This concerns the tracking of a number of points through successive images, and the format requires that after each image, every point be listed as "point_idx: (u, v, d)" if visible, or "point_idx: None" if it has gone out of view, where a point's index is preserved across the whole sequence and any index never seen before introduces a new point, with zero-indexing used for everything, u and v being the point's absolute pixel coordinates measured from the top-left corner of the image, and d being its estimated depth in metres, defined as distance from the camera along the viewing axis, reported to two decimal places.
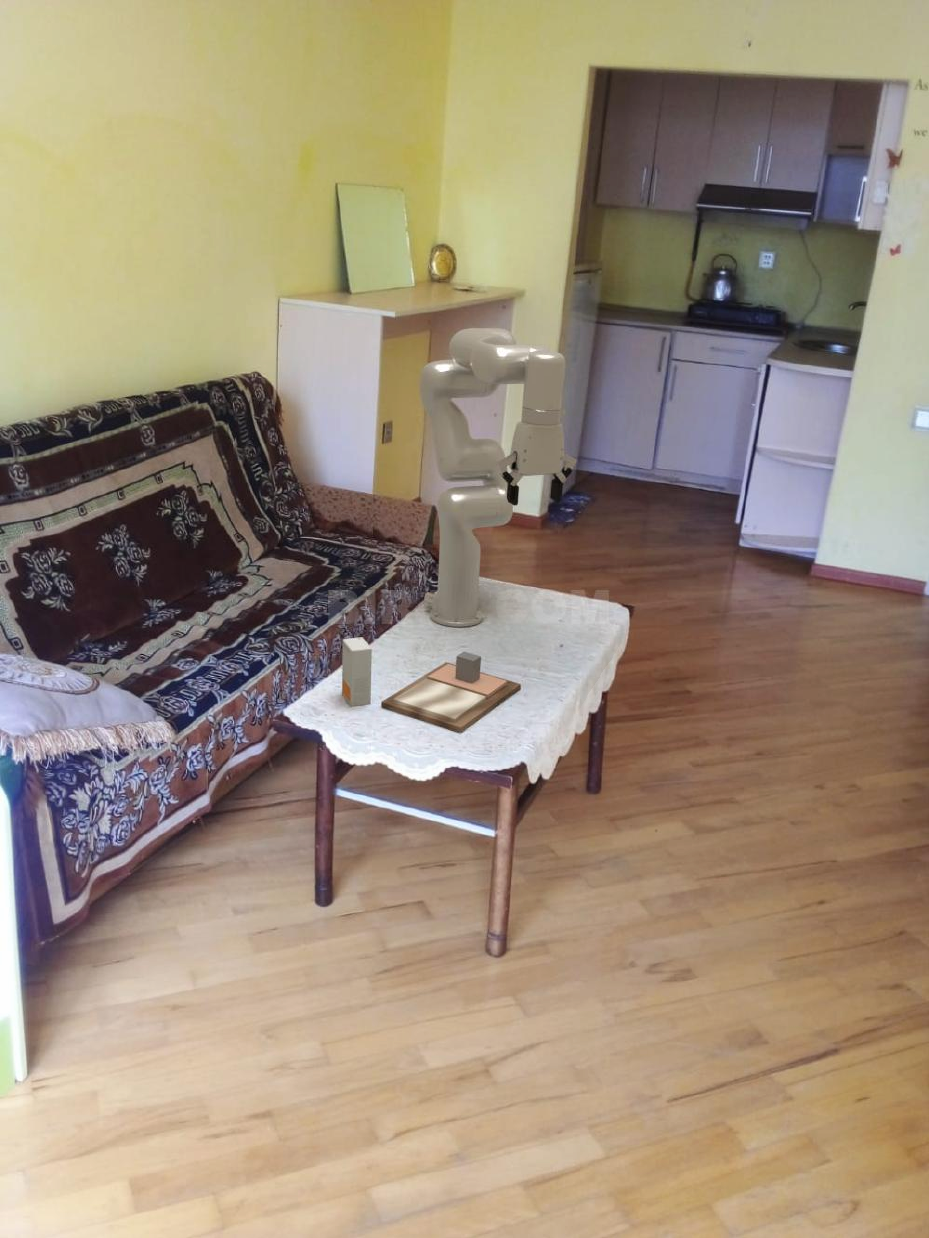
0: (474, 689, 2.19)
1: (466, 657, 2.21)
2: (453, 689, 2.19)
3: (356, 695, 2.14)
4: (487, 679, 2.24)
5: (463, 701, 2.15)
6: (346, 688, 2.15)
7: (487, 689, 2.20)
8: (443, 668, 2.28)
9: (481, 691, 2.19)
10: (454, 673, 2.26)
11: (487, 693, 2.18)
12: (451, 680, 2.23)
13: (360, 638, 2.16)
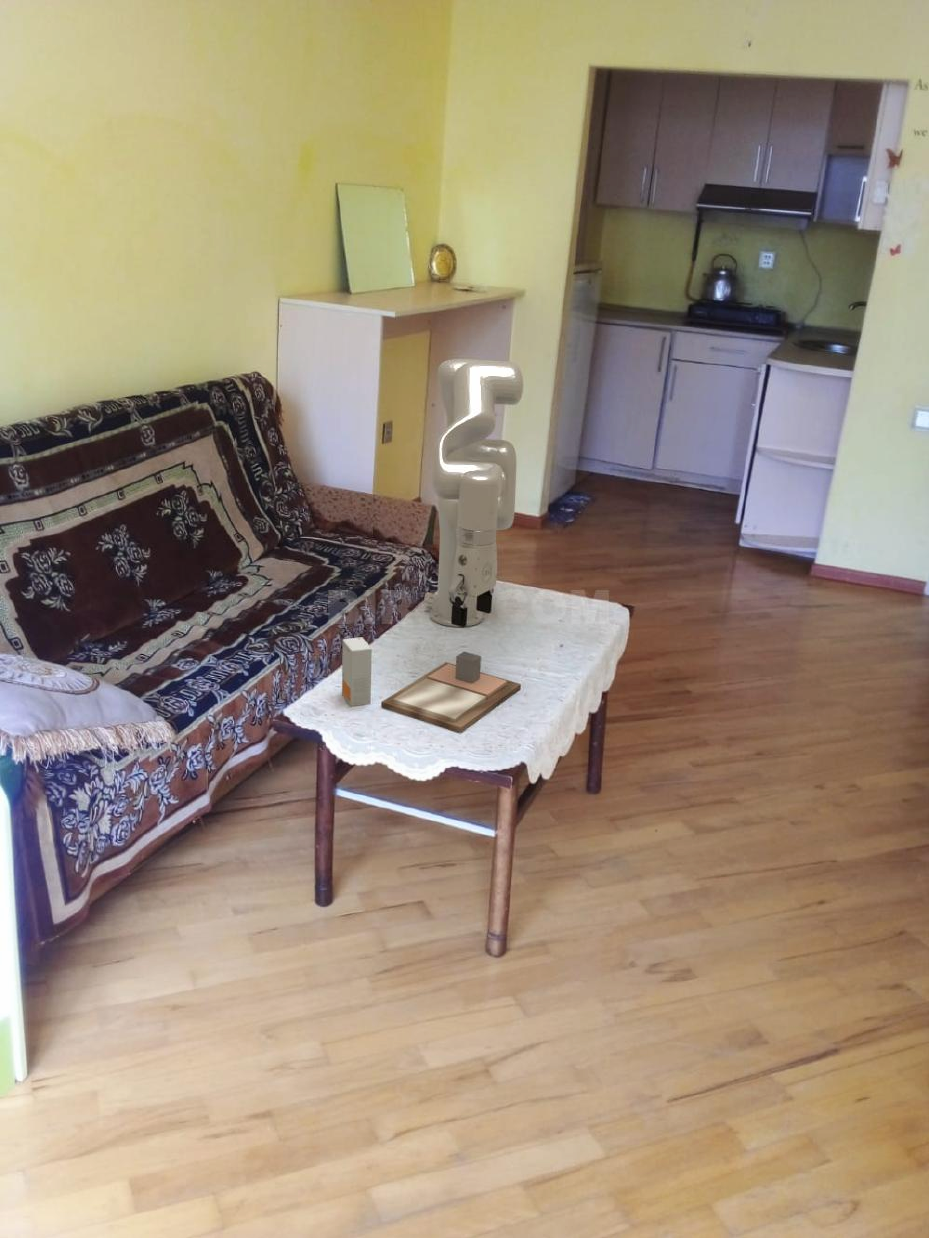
0: (474, 689, 2.19)
1: (466, 657, 2.21)
2: (453, 689, 2.19)
3: (356, 695, 2.14)
4: (487, 679, 2.24)
5: (463, 701, 2.15)
6: (346, 688, 2.15)
7: (487, 689, 2.20)
8: (443, 668, 2.28)
9: (481, 691, 2.19)
10: (454, 673, 2.26)
11: (487, 693, 2.18)
12: (451, 680, 2.23)
13: (360, 638, 2.16)
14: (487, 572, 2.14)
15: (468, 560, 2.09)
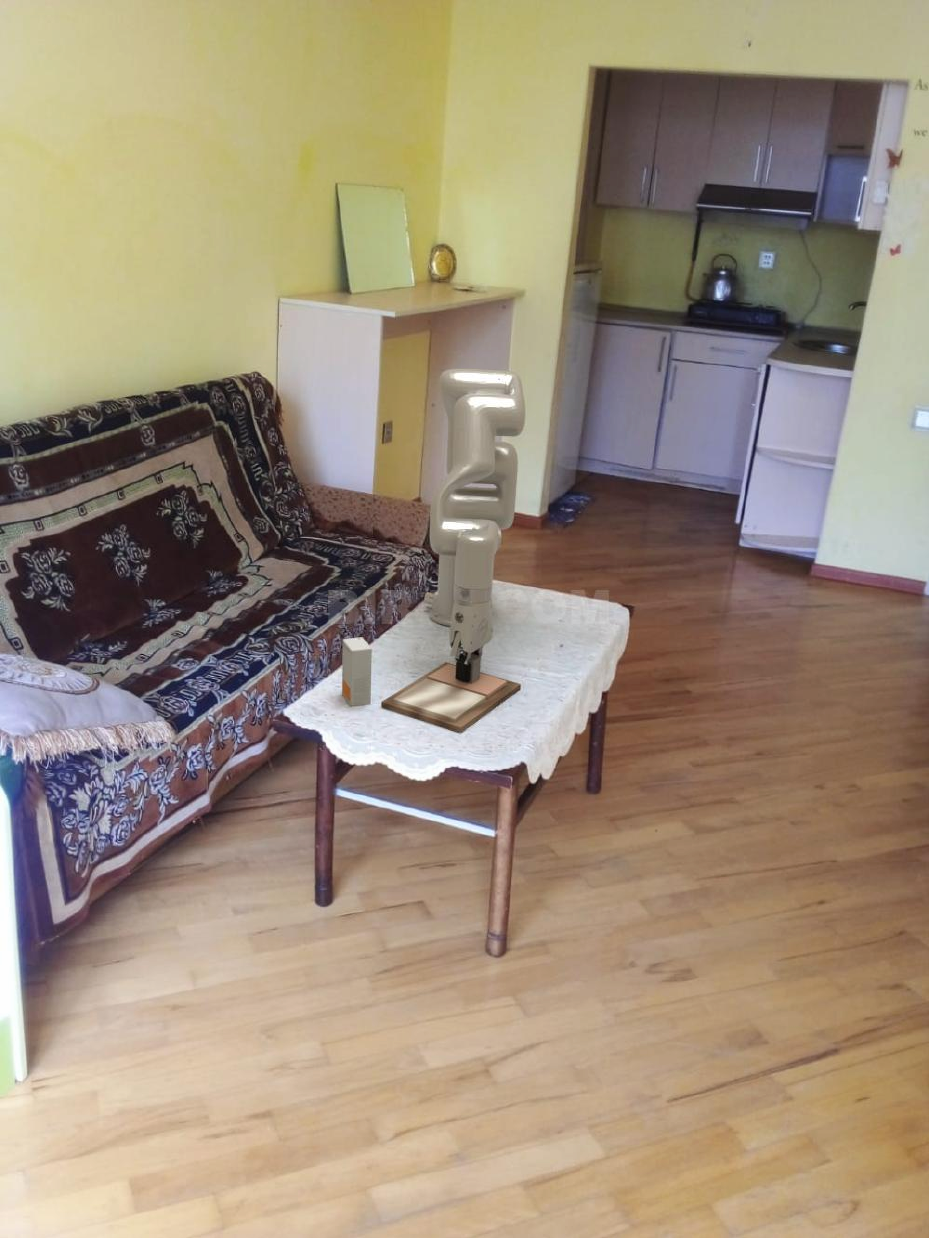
0: (474, 689, 2.19)
1: None
2: (453, 689, 2.19)
3: (356, 695, 2.14)
4: (487, 679, 2.24)
5: (463, 701, 2.15)
6: (346, 688, 2.15)
7: (487, 689, 2.20)
8: (443, 668, 2.28)
9: (481, 691, 2.19)
10: (454, 673, 2.26)
11: (487, 693, 2.18)
12: (451, 680, 2.23)
13: (360, 638, 2.16)
14: (483, 628, 2.19)
15: (464, 618, 2.14)
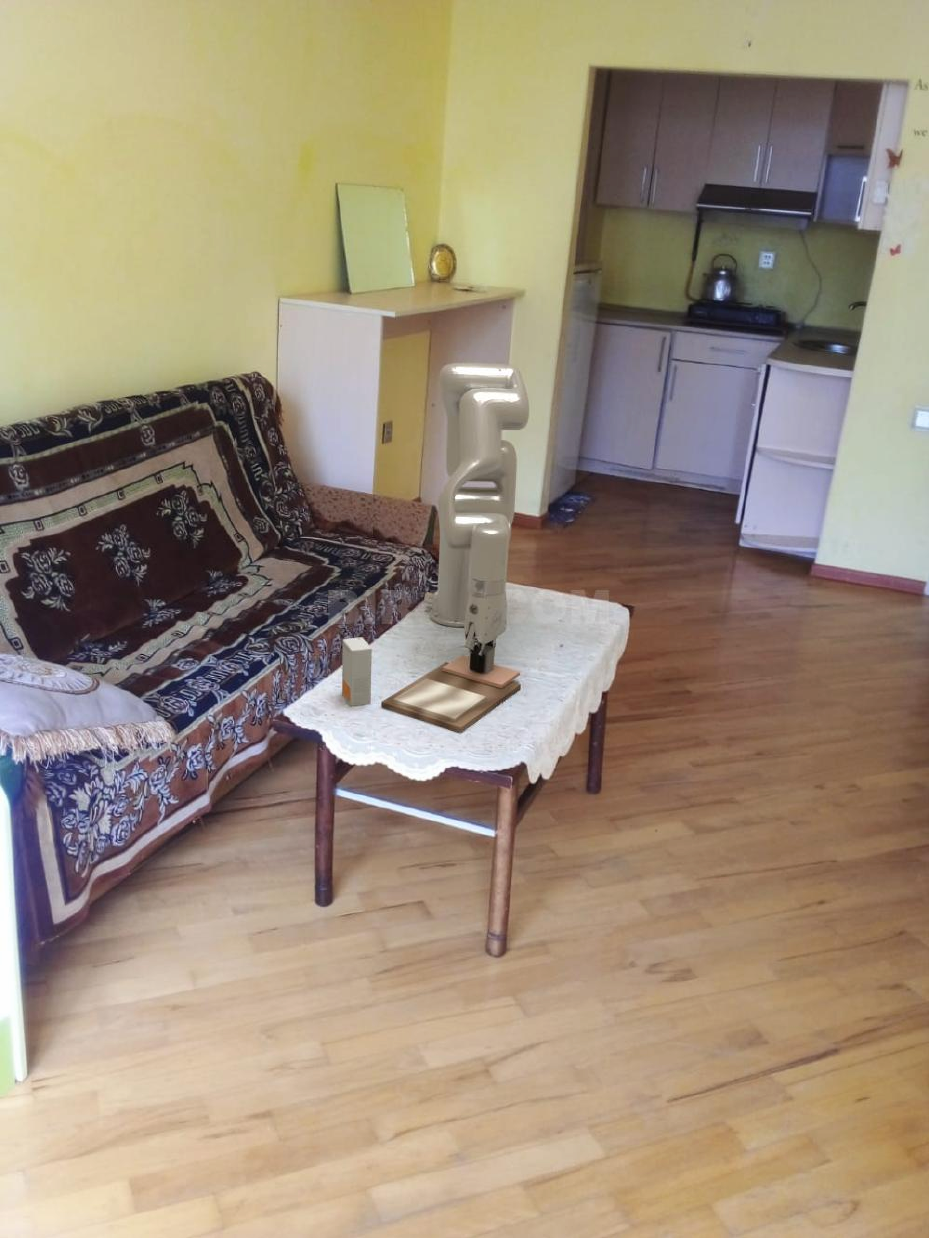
0: (488, 679, 2.24)
1: None
2: (453, 689, 2.19)
3: (356, 695, 2.14)
4: (500, 670, 2.29)
5: (463, 701, 2.15)
6: (346, 688, 2.15)
7: (501, 679, 2.25)
8: (457, 659, 2.33)
9: (495, 681, 2.23)
10: (468, 664, 2.31)
11: (501, 683, 2.23)
12: (465, 671, 2.27)
13: (360, 638, 2.16)
14: (497, 619, 2.23)
15: (479, 609, 2.19)
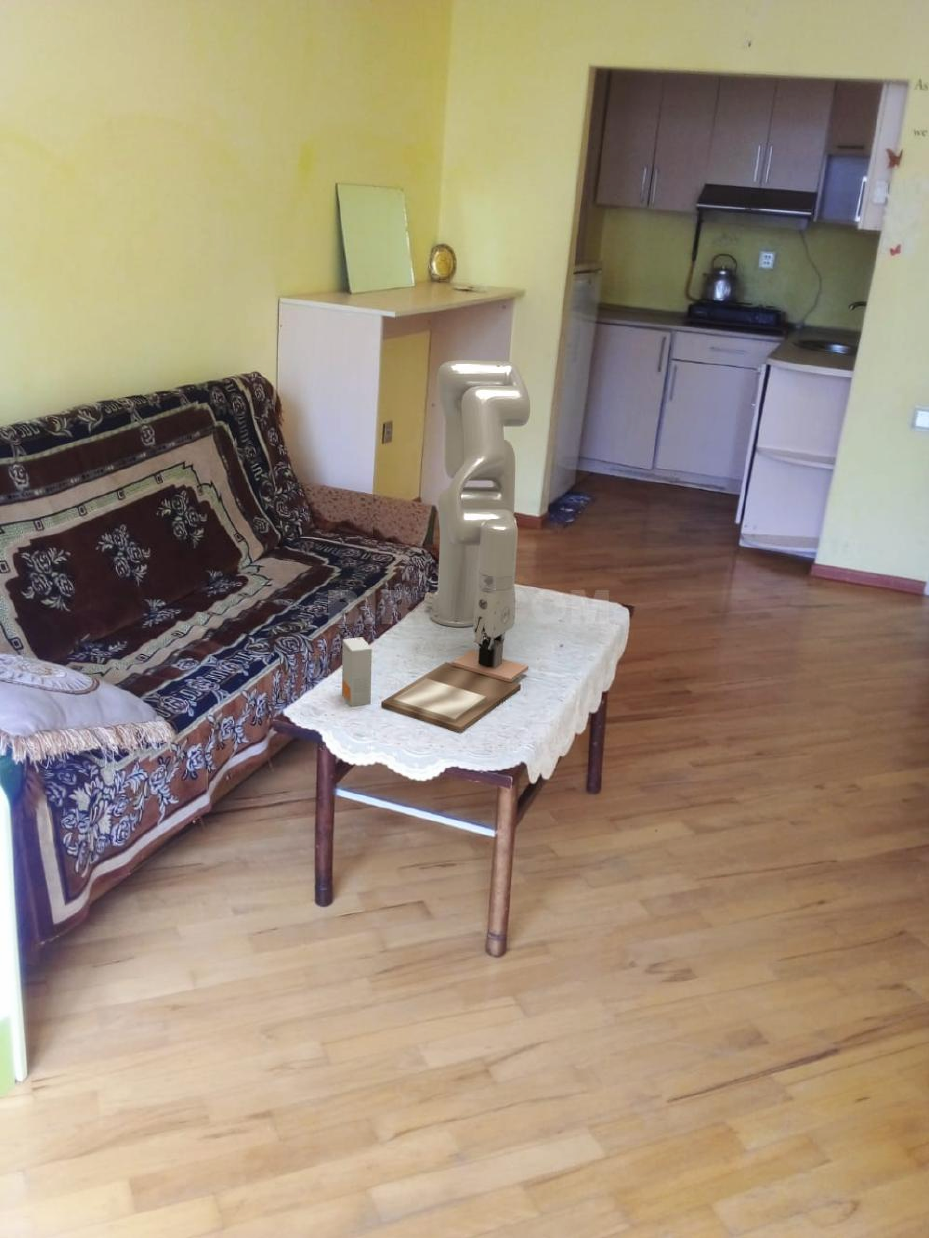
0: (497, 673, 2.27)
1: None
2: (453, 689, 2.19)
3: (356, 695, 2.14)
4: (509, 664, 2.32)
5: (463, 701, 2.15)
6: (346, 688, 2.15)
7: (510, 673, 2.27)
8: (466, 654, 2.36)
9: (504, 675, 2.26)
10: (477, 658, 2.34)
11: (509, 677, 2.26)
12: (474, 665, 2.30)
13: (360, 638, 2.16)
14: (506, 614, 2.26)
15: (488, 604, 2.22)
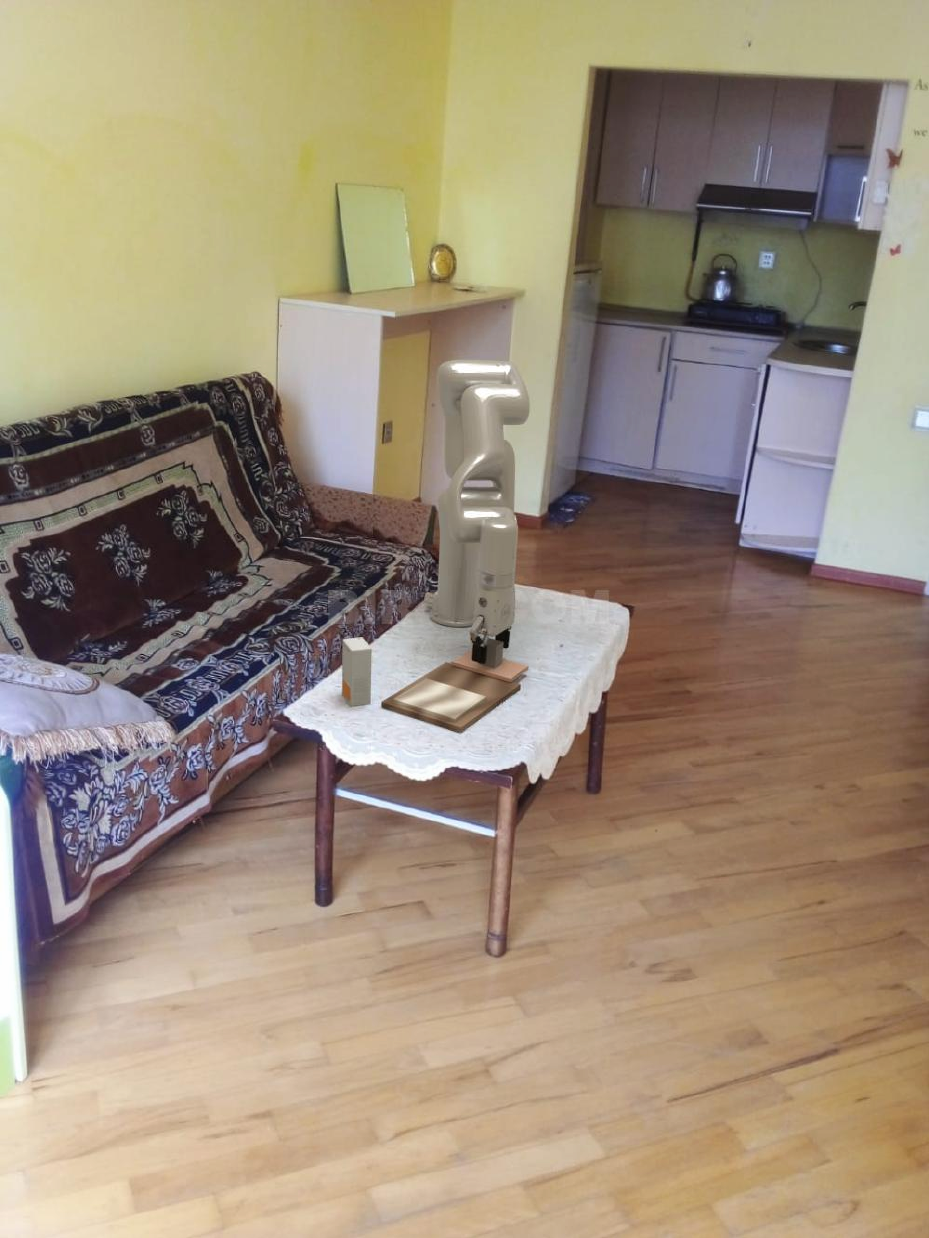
0: (497, 673, 2.27)
1: (489, 643, 2.29)
2: (453, 689, 2.19)
3: (356, 695, 2.14)
4: (509, 664, 2.32)
5: (463, 701, 2.15)
6: (346, 688, 2.15)
7: (510, 673, 2.28)
8: (466, 654, 2.36)
9: (504, 675, 2.26)
10: None
11: (510, 677, 2.26)
12: (474, 665, 2.30)
13: (360, 638, 2.16)
14: (506, 612, 2.26)
15: (488, 602, 2.22)
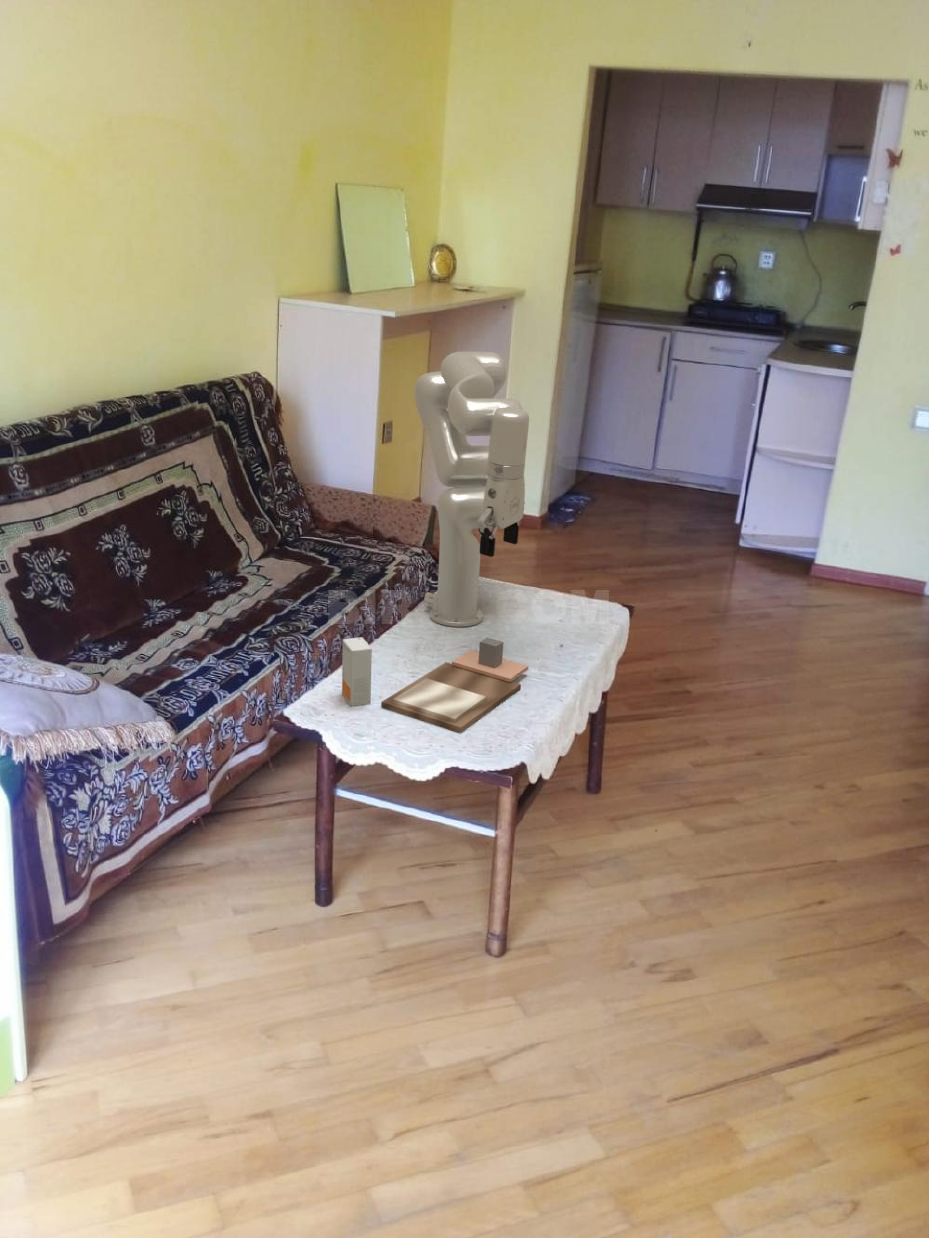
0: (497, 673, 2.27)
1: (489, 643, 2.29)
2: (453, 689, 2.19)
3: (356, 695, 2.14)
4: (509, 664, 2.32)
5: (463, 701, 2.15)
6: (346, 688, 2.15)
7: (510, 673, 2.28)
8: (466, 654, 2.36)
9: (504, 675, 2.26)
10: (477, 658, 2.34)
11: (510, 677, 2.26)
12: (474, 665, 2.30)
13: (360, 638, 2.16)
14: (515, 505, 2.25)
15: (497, 493, 2.20)
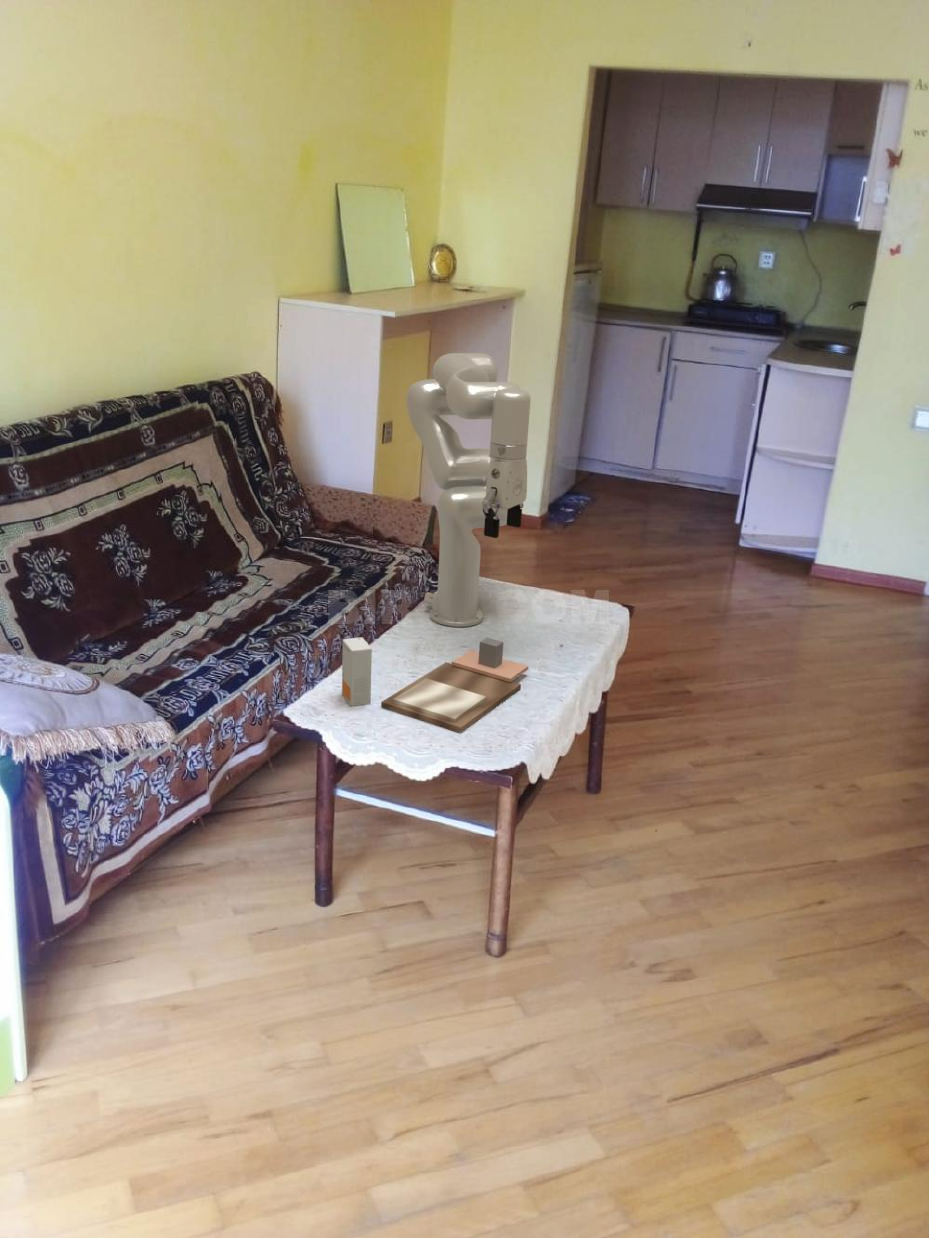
0: (497, 673, 2.27)
1: (489, 643, 2.29)
2: (453, 689, 2.19)
3: (356, 695, 2.14)
4: (509, 664, 2.32)
5: (463, 701, 2.15)
6: (346, 688, 2.15)
7: (510, 673, 2.28)
8: (466, 654, 2.36)
9: (504, 675, 2.26)
10: (477, 658, 2.34)
11: (510, 677, 2.26)
12: (474, 665, 2.30)
13: (360, 638, 2.16)
14: (518, 486, 2.26)
15: (501, 473, 2.22)
